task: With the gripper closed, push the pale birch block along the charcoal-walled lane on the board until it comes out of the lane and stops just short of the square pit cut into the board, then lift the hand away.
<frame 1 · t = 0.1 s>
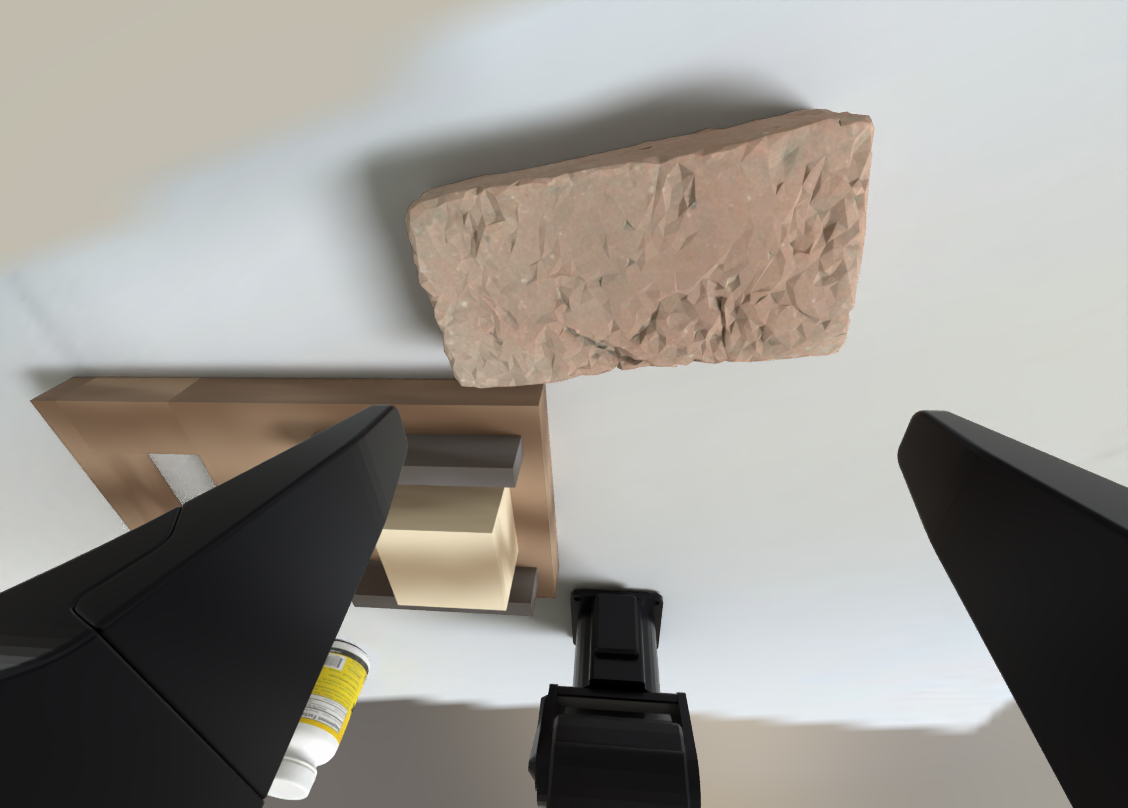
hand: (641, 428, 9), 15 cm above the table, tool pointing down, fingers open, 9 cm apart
supplement bottle: (343, 653, 43), on the table
brick: (623, 249, 22), on the table
lane board: (338, 480, 31), on the table
block: (462, 513, 28), point 2 cm above the table, touching lane board
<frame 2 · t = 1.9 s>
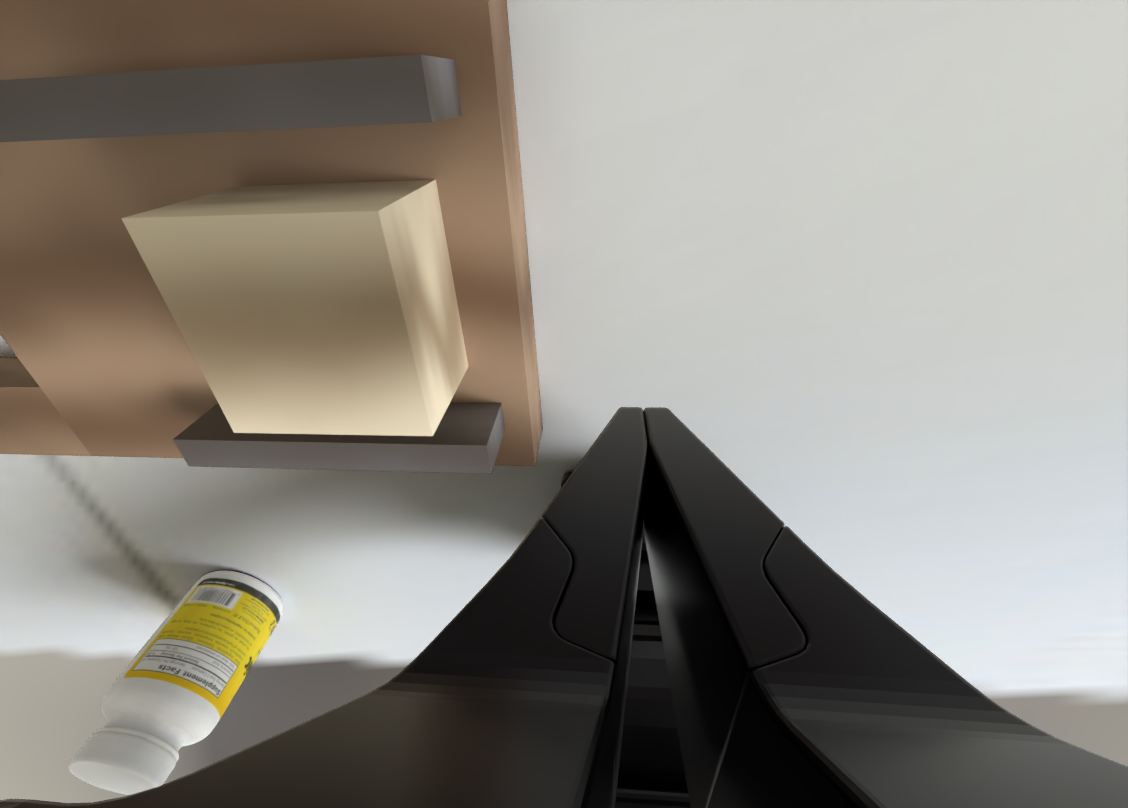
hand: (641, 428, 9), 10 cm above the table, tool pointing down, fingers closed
supplement bottle: (246, 592, 31), on the table
lane board: (171, 264, 18), on the table
block: (362, 284, 15), point 2 cm above the table, touching lane board
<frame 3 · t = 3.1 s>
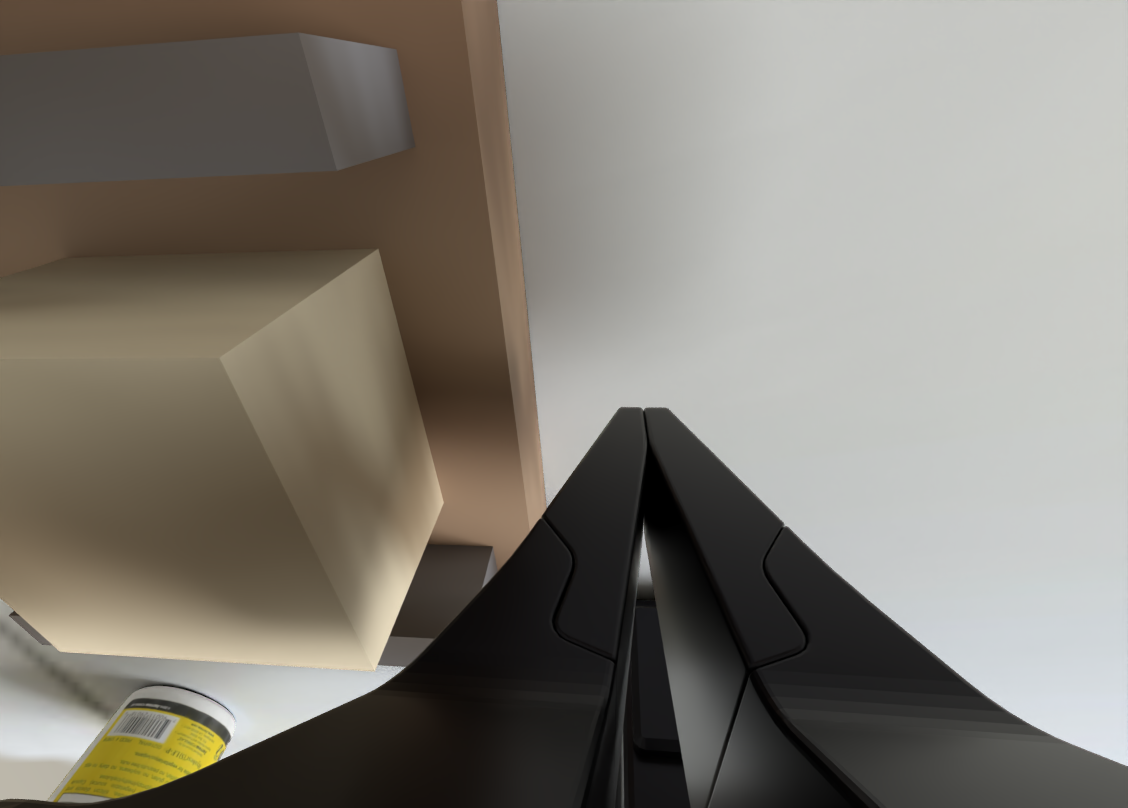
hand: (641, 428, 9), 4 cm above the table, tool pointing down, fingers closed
supplement bottle: (191, 704, 25), on the table
lane board: (31, 346, 13), on the table
block: (279, 396, 10), point 2 cm above the table, touching lane board
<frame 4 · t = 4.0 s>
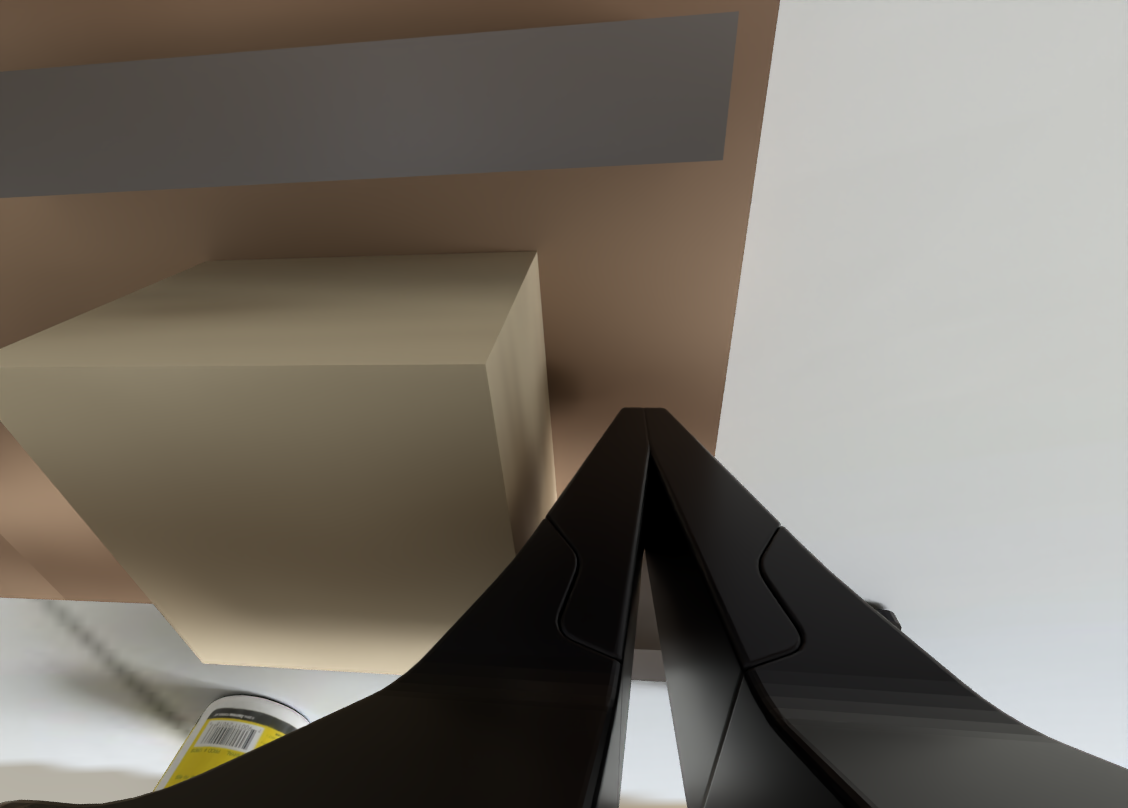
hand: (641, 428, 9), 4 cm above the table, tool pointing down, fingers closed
supplement bottle: (267, 714, 25), on the table
lane board: (174, 350, 13), on the table
block: (406, 401, 10), point 3 cm above the table, touching gripper
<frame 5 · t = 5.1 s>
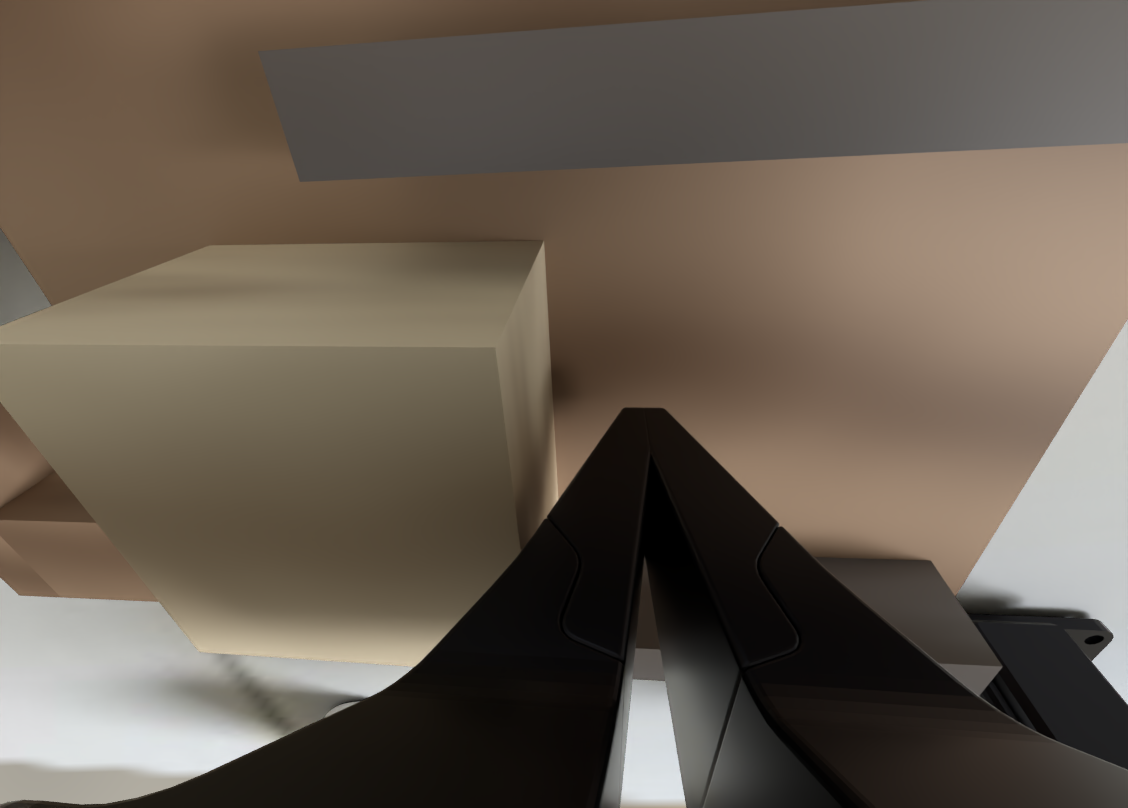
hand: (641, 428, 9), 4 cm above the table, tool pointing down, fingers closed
lane board: (403, 346, 12), on the table
block: (408, 391, 10), point 2 cm above the table, touching gripper, lane board
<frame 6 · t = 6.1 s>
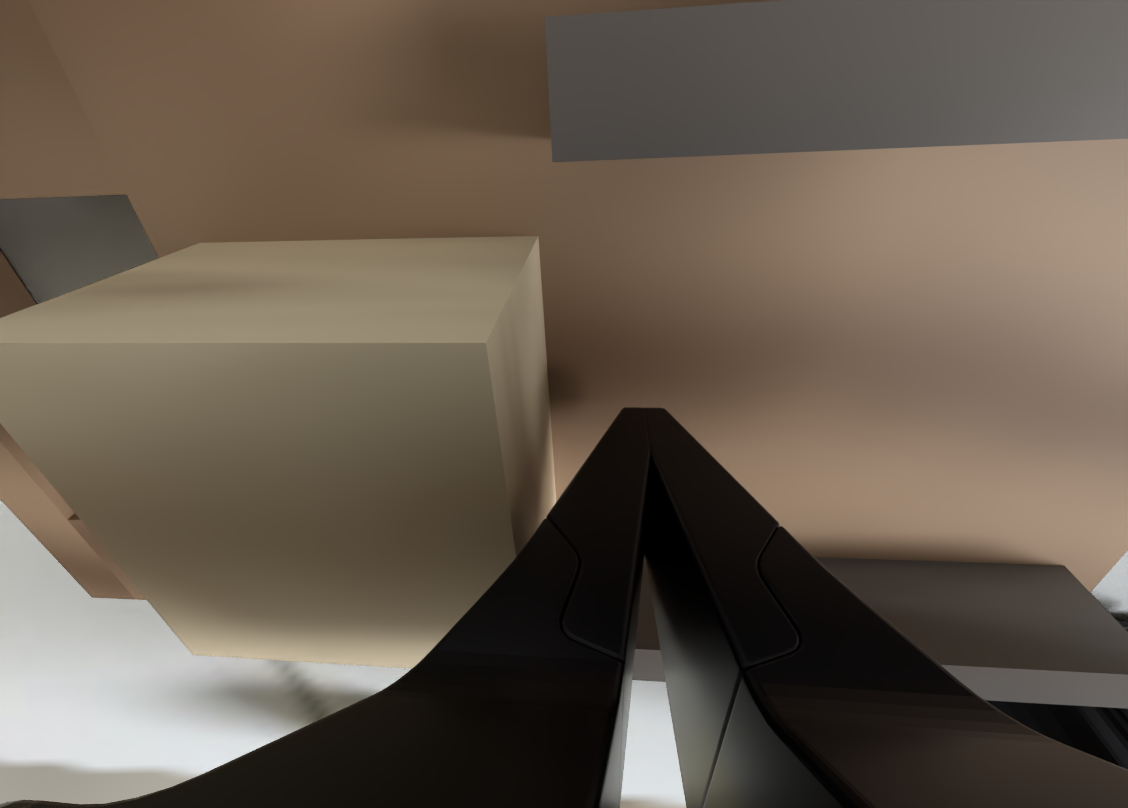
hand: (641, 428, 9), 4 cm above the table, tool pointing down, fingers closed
lane board: (512, 342, 12), on the table
block: (402, 389, 10), point 2 cm above the table, touching gripper, lane board
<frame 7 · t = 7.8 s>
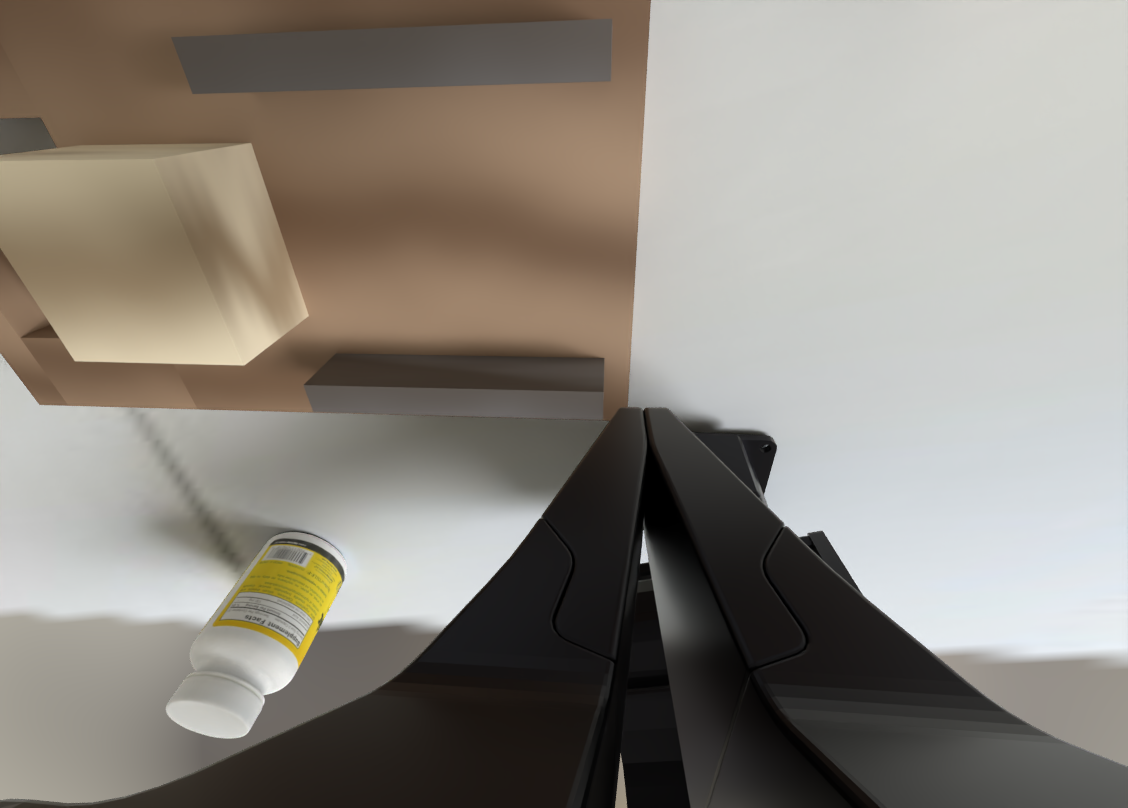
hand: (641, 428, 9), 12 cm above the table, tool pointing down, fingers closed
supplement bottle: (311, 554, 32), on the table
lane board: (291, 224, 20), on the table
block: (204, 237, 18), point 2 cm above the table, touching lane board
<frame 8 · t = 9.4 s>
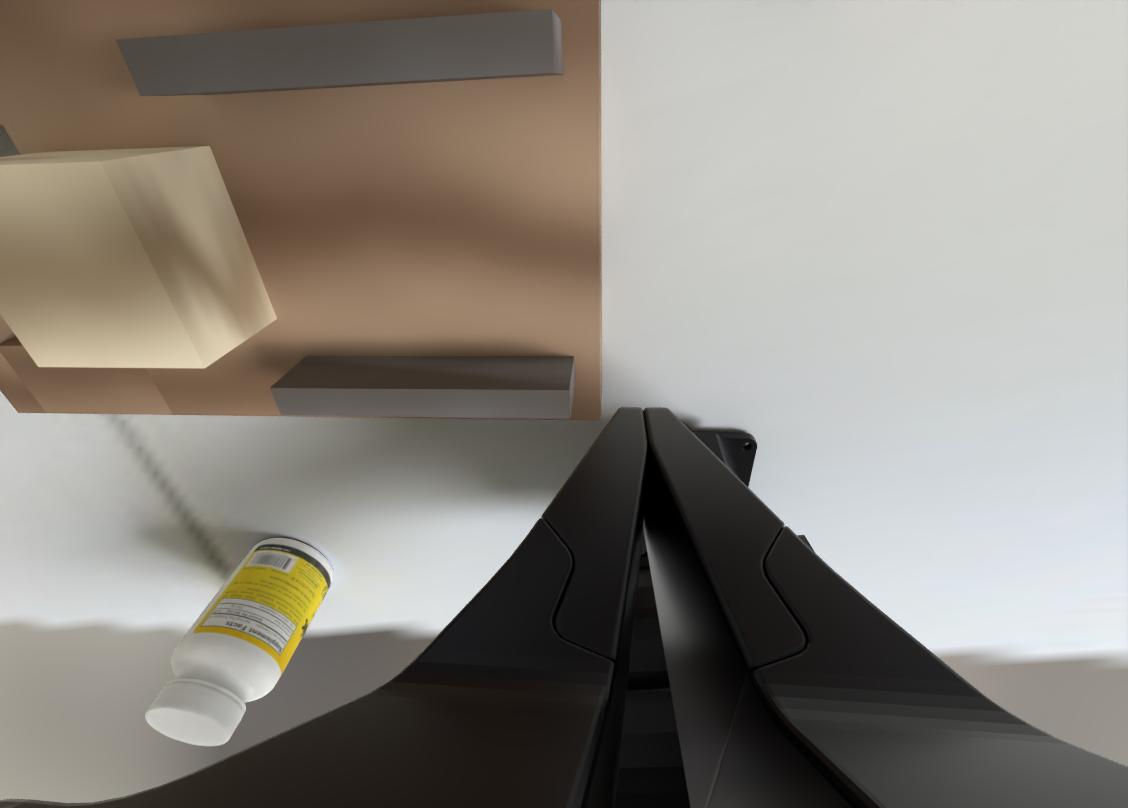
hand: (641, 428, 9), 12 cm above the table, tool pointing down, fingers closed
supplement bottle: (297, 560, 32), on the table
lane board: (260, 228, 20), on the table
block: (169, 241, 18), point 2 cm above the table, touching lane board
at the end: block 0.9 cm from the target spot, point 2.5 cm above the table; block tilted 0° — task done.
